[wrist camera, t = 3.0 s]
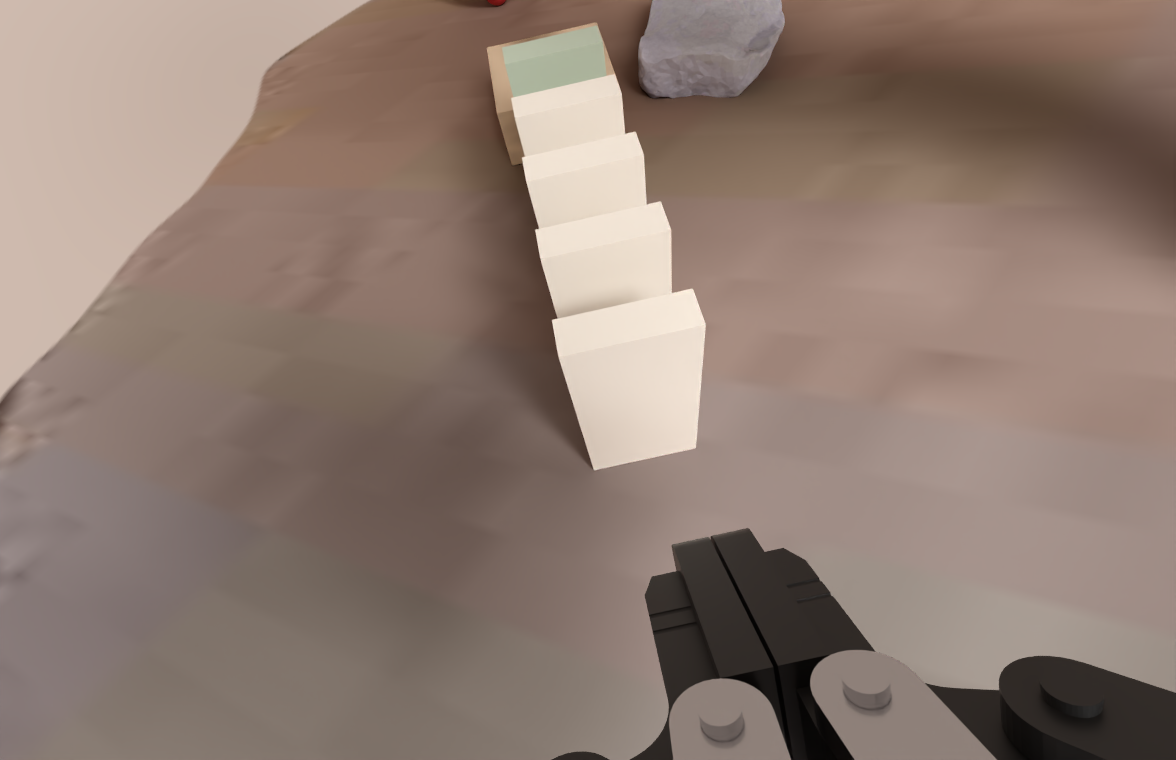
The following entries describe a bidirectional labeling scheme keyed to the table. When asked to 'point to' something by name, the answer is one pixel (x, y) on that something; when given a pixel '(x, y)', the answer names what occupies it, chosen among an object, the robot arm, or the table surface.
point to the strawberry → (496, 2)
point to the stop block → (505, 94)
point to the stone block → (707, 46)
